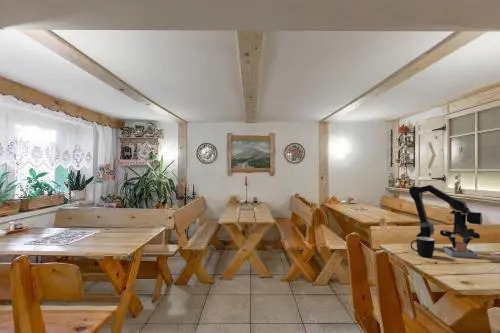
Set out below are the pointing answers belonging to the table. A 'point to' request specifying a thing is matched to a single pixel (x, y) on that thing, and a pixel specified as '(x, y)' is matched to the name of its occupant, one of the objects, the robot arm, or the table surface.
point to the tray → (460, 253)
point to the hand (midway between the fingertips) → (459, 248)
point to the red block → (460, 246)
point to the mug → (424, 246)
